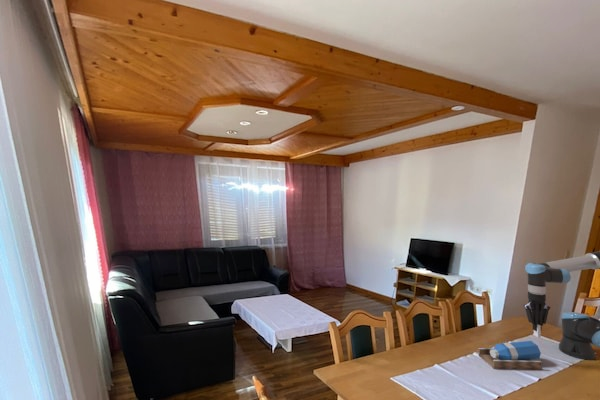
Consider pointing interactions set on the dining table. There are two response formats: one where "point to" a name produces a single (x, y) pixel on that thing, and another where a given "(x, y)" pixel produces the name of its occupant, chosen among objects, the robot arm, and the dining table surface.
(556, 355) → the dining table surface
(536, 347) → the water bottle
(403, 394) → the dining table surface
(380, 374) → the dining table surface
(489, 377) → the dining table surface
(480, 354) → the cradle
